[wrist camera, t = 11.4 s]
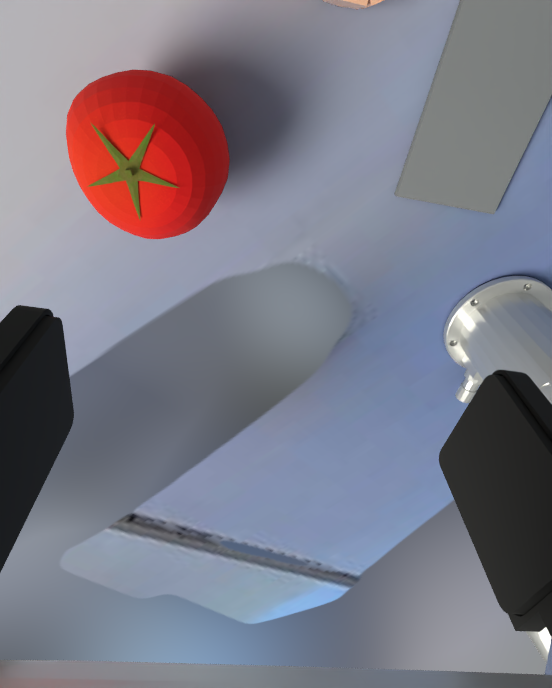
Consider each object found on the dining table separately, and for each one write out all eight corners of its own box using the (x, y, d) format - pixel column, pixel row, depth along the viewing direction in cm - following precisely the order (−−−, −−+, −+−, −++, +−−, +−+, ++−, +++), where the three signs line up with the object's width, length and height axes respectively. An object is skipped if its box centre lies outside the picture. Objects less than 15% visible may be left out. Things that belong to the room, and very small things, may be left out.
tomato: (254, 176, 39) (251, 225, 28) (152, 223, 41) (116, 284, 30) (191, 35, 32) (159, 32, 22) (76, 100, 35) (-2, 125, 24)
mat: (491, 212, 41) (493, 214, 41) (394, 194, 40) (396, 196, 39) (589, 6, 32) (594, 6, 32) (468, -26, 31) (472, -27, 30)
